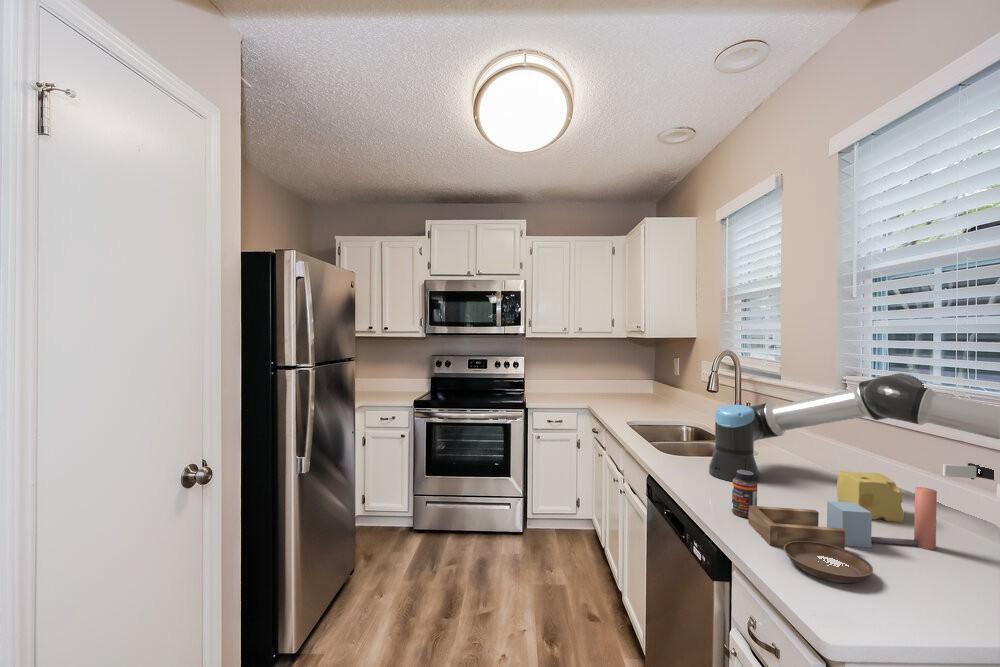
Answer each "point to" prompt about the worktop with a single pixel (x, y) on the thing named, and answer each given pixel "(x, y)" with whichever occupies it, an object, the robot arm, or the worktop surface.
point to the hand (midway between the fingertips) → (969, 479)
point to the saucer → (808, 561)
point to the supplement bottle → (743, 493)
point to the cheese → (871, 494)
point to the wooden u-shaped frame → (792, 526)
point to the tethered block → (860, 522)
